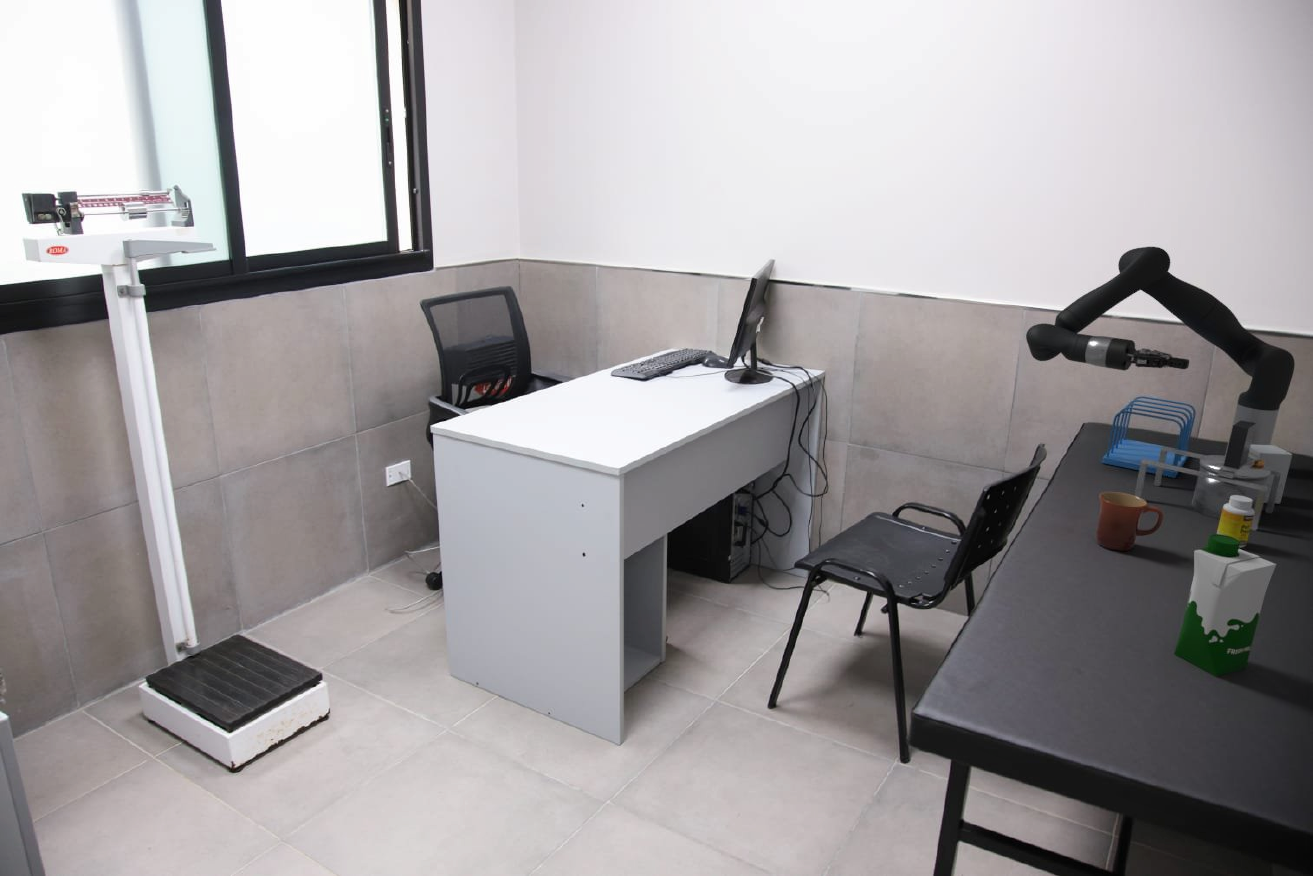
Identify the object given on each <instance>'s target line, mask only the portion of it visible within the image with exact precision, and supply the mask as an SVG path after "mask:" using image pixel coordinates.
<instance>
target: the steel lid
mask: <svg viewBox="0 0 1313 876" xmlns="http://www.w3.org/2000/svg"><path fill="white" fill-rule="evenodd" d="M1232 425H1233V424H1232ZM1255 425H1256V423H1252V422H1247V421H1242V420H1240V421H1239V422H1238V423H1236V424H1235V425H1233V428H1232V427H1231V429H1232V432H1231V431H1230V433H1231V436H1230V435H1229V437H1230V441H1229V440H1228V442H1229V445H1228V444H1227V446H1228V449H1227V448H1226V450H1227V453H1226V452H1225V454H1226V456H1225V455H1220V454H1219V455H1217V454H1209V455H1208V454H1207V455H1205V456H1203V457H1201V459H1199V467H1200V466H1201V467H1203V468H1204V469H1206V470H1209V471H1211V472H1214V473H1217V475H1218V476H1223V477H1227V478H1231V479H1233V478H1234V477H1235V478H1242V479H1266V478H1268V477H1269V476H1270V472H1271V470H1270V468H1268V467H1267V466H1265V461H1262V460H1255V461H1251V459H1249V458H1248V454H1249V450H1250V446H1251V442H1252V438H1253V434H1254V429H1255Z"/></svg>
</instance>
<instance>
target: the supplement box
mask: <svg viewBox="0 0 1313 876" xmlns="http://www.w3.org/2000/svg"><path fill="white" fill-rule="evenodd" d="M1292 457H1293V453H1291V452H1288V451H1286V450H1285V449H1282V448H1281V447H1278V446H1276V445H1272V444H1270V445H1253V444H1251V446H1250V450H1249V454H1248V458H1249V459H1251V461H1255V460H1262V461H1265V466H1267V467H1268V468H1270V469H1271V470H1276V471H1280V472H1282V477H1281V481H1280V484H1279V488H1278V492H1277V496H1276V500H1275V504H1281V502H1282V497H1283V493H1284V489H1285V486H1286V481H1287V478H1288V473H1289V470H1290V466H1291V461H1292ZM1273 479H1274V475H1273V474H1270V476H1269V477H1268V478H1267V481H1266V485H1265V486H1266V487H1267V492H1266V496H1265V500H1264V504H1267V503H1268V499H1269V495H1270V491H1271V487H1272V483H1273Z"/></svg>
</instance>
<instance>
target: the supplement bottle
mask: <svg viewBox="0 0 1313 876" xmlns="http://www.w3.org/2000/svg"><path fill="white" fill-rule="evenodd" d="M1252 502H1253V500H1252V499H1250V498H1248V497H1245V496H1240V495H1232V496H1230V500H1229V503H1227V504H1225V505H1224V506H1223V509H1222V514H1221V518H1220V519H1219V522H1218V527H1217V530H1216V534H1220V535H1226V536H1230V537H1233V538H1235V539H1237V540H1238V541H1239V542H1240V545H1239V549H1241V548H1242V549H1243V548H1245V547H1246V546H1247V543H1248V540H1249V536H1250V532H1251V525H1252V521H1253V517H1254V513H1255V512H1254V510H1253V509H1252V508H1251V506H1252Z"/></svg>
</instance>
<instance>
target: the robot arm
mask: <svg viewBox="0 0 1313 876" xmlns="http://www.w3.org/2000/svg"><path fill="white" fill-rule="evenodd" d="M1117 266H1118V272H1119V274H1117V275H1116V276H1114V277H1112V278H1111V279H1110V280H1108V281H1106V282H1105V283H1103V284H1102V285H1099V286H1098V287H1096V288H1094V289H1093V290H1090V291H1088V292H1087V293H1085V294H1084V295H1082V296H1081V297H1079V298H1077V299H1075V301H1073V302H1072V303H1070V304H1069V305H1068V306H1065V308H1064V309H1063V310H1061V311H1059V312H1058V313H1057V314H1056V317H1055V320H1054V321H1055V322H1054V324H1051V323H1037V324H1034V325H1032V326H1031V327H1029V328H1028V329H1027V331H1026V334H1025V338H1026V339H1025V340H1026V344H1027V345H1028V350H1029V351H1030V354H1031V356H1032V357H1033V359H1035V360H1036V361H1039V362H1048V361H1050V360H1053V359H1054V358H1056V357H1057V356H1059V355H1060V354H1061V355H1062V356H1063V357H1064V358H1065V359H1066V360H1068V361H1071V362H1075V363H1076V362H1077V363H1083V364H1088V365H1091V366H1095V367H1101V368H1106V369H1112V370H1113V369H1114V370H1118V371H1127V370H1129V369H1130V367H1131V366H1132V365H1133V364H1135V367H1137V368H1154V369H1155V368H1157V369H1163V368H1165V369H1166V368H1174V369H1180V370H1187V369H1188V368H1189V365H1190V360H1189V359H1187V358H1180V357H1176V356H1175V357H1173V356H1172V354H1171V353H1167V352H1163V351H1160V350H1157V349H1154V350H1151V349H1149V348H1141V349H1136V343H1135V341H1133V340H1132V339H1127V338H1126V339H1125V338H1118V337H1112V336H1107V335H1106V336H1105V335H1090V334H1085V333H1080V332H1082V331H1083V330H1085V328H1087V327H1089V326H1090V325H1091V324H1092V323H1094V322H1095V321H1096V320H1098V319H1099V318H1100V317H1101V316H1103V314H1106V312H1108V311H1110V310H1111V309H1112V308H1114V307H1115V306H1117V305H1118V304H1120V303H1121V302H1122V301H1125V300H1126V299H1128V298H1129V297H1131V296H1132V295H1134V294H1135V293H1137V292H1140V291H1142V292H1144V293H1145V294H1146V295H1148V296H1150V297H1151V298H1153V299H1154V300H1156V302H1158V303H1159V304H1160V305H1161V306H1162V307H1164V309H1166V310H1167V311H1168V312H1170V313H1171V314H1172V315H1173V316H1175V317H1176V318H1177V319H1178V320H1180V321H1181V322H1182V324H1184V326H1185V325H1186V327H1188V328H1189V329H1190V330H1191V331H1193V332H1194V333H1196V334H1197V335H1198V336H1200V337H1202V339H1204V340H1205V341H1207V342H1208V343H1210V344H1212V345H1213V346H1215V347H1217V348H1218V349H1220V350H1222V351H1223V352H1224V353H1225V354H1226V355H1227V356H1228V357H1229V358H1230V359H1231V360H1232V361H1233V362H1234V363H1235V364H1236V365H1237V366H1239V368H1240V369H1241V370H1242V371H1243V372H1244V373H1245V374H1246V375H1248V376H1249V377H1251V378H1252V379H1251V381H1250V384H1249V387H1248V389H1247V390H1246V391H1242V392H1241V393H1240V394H1239V396H1238V400H1237V403H1236V408H1235V412H1234V417H1233V420H1232V426H1231V430H1230V434H1229V437H1228V442H1227V446H1226V449H1225V450H1226V451H1225V455H1224V456H1226V453H1227V449H1228V445H1229V441H1230V436H1231V432H1232V428H1233V425H1235V424H1236V423H1238V422H1239V421H1240V420H1242V421H1247V422H1252V423H1256V425H1255V429H1254V434H1253V438H1252V442H1251V444H1253V445H1272V444H1271V443H1272V439H1273V435H1274V431H1275V428H1276V423H1277V419H1278V415H1279V412H1280V407H1281V405H1282V403H1283V401H1284V400H1285V399H1286V397H1287V395H1288V393H1289V389H1290V386H1291V382H1292V380H1293V375H1294V372H1295V371H1294V370H1295V365H1296V363H1295V358H1294V356H1293V354H1292V353H1291V352H1290V351H1289V350H1286V349H1284V348H1282V347H1278V346H1275V345H1272V344H1269V343H1267V342H1266V341H1264V340H1262V339H1260V338H1259V337H1258V336H1255V335H1254V334H1252V333H1251V332H1250V331H1249V330H1247V329H1246V328H1245V327H1244V326H1243V325H1242V324H1241V322H1240V321H1239V320H1238V318H1237V316H1236V315H1235V314H1234V312H1233V311H1231V309H1230V308H1229V307H1228V306H1227V305H1226V304H1224V303H1223V302H1222V301H1221V300H1219V299H1217V297H1215V296H1214V295H1212V294H1211V293H1209V292H1208V291H1206V290H1204V289H1202V288H1200V287H1198V286H1196V285H1193V284H1191V283H1188V282H1187V281H1184V280H1182V279H1180V278H1178V277H1176V276H1175V275H1173V274H1172V273H1170V272H1169V270H1170V267H1171V258H1170V255H1169V253H1168V252H1167V250H1165V249H1163V248H1162V247H1159V246H1143V247H1142V246H1141V247H1136V248H1133V249H1129V250H1127V251H1126V252H1124V253H1123V254H1122V255H1121V257H1120V258H1119V259H1118V265H1117Z"/></svg>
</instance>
